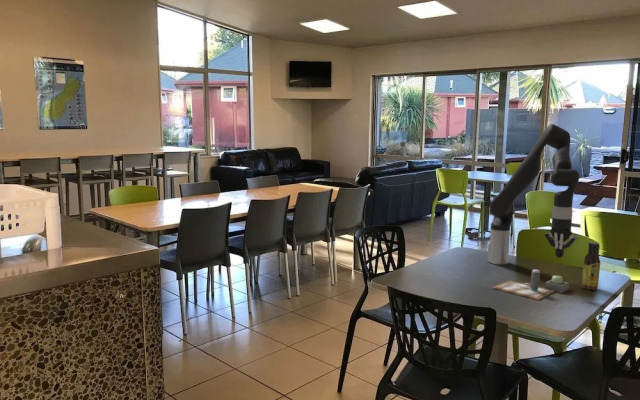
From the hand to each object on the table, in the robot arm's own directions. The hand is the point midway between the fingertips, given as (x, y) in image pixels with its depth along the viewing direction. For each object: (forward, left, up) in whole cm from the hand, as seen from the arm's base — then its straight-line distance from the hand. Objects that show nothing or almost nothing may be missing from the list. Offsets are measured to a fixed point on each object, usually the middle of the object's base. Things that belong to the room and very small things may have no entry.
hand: (559, 257), depth 218 cm
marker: (-5, -11, -13) cm, 18 cm away
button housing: (0, 0, -14) cm, 14 cm away
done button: (0, 0, -12) cm, 12 cm away
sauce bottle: (+9, +12, -14) cm, 21 cm away
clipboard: (-9, -12, -14) cm, 21 cm away
